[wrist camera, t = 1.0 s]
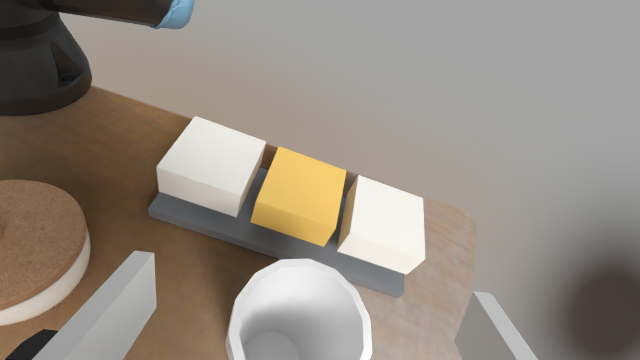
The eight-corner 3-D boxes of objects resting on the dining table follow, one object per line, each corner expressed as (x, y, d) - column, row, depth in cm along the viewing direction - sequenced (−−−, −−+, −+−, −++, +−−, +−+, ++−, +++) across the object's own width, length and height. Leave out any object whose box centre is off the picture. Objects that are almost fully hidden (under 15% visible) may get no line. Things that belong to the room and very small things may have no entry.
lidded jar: (89, 334, 28) (58, 294, 21) (-82, 354, 24) (-187, 313, 18) (111, 226, 34) (93, 168, 28) (-22, 227, 31) (-82, 161, 24)
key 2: (158, 191, 35) (156, 166, 32) (194, 140, 40) (195, 115, 37) (236, 217, 35) (241, 195, 32) (260, 164, 41) (266, 141, 38)
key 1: (336, 251, 37) (349, 233, 34) (346, 194, 42) (358, 174, 39) (406, 274, 37) (425, 259, 34) (406, 215, 43) (422, 198, 40)
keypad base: (148, 216, 36) (147, 208, 35) (193, 151, 44) (193, 143, 43) (397, 298, 39) (403, 293, 38) (399, 223, 47) (404, 218, 45)
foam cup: (194, 406, 27) (199, 378, 18) (241, 301, 34) (262, 239, 24) (301, 446, 28) (360, 439, 18) (326, 335, 34) (381, 287, 24)
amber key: (250, 222, 36) (255, 200, 33) (272, 168, 41) (278, 146, 38) (323, 246, 36) (335, 228, 33) (335, 190, 42) (346, 170, 39)
